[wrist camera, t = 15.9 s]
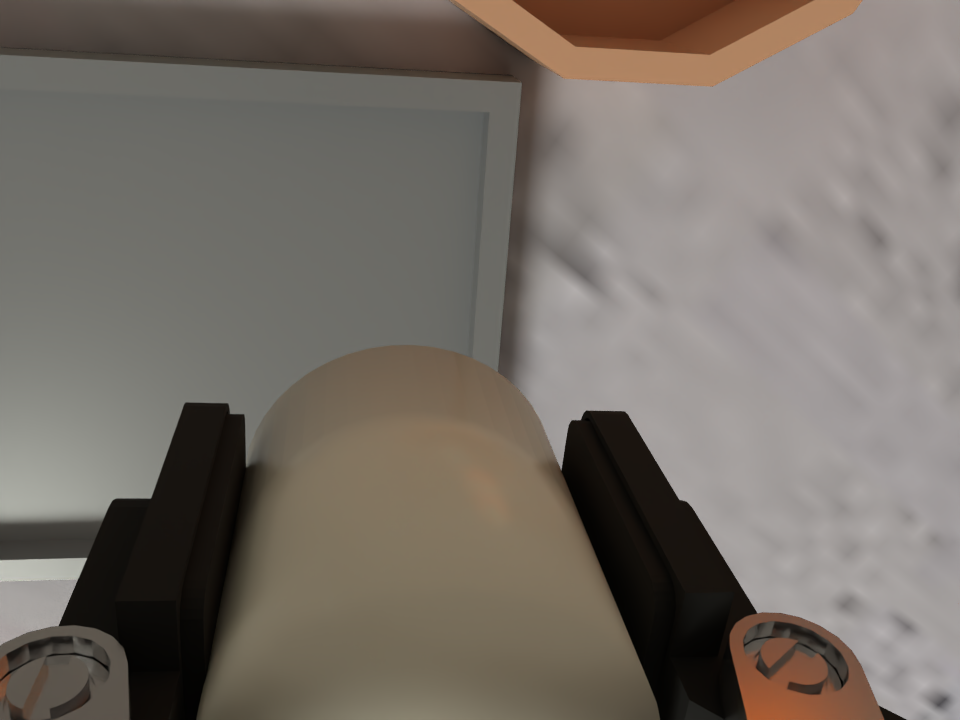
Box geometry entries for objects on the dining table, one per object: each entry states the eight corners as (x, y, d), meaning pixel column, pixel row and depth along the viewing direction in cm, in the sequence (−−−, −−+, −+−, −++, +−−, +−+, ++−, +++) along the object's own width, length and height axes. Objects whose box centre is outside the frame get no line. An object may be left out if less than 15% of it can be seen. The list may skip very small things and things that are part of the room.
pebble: (241, 339, 11) (175, 591, 7) (570, 349, 12) (703, 585, 8) (246, 609, 13) (195, 947, 9) (532, 603, 14) (621, 915, 9)
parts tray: (-187, 36, 22) (-222, 43, 21) (512, 75, 25) (521, 82, 23) (-69, 553, 28) (-90, 584, 27) (475, 540, 31) (481, 567, 30)
